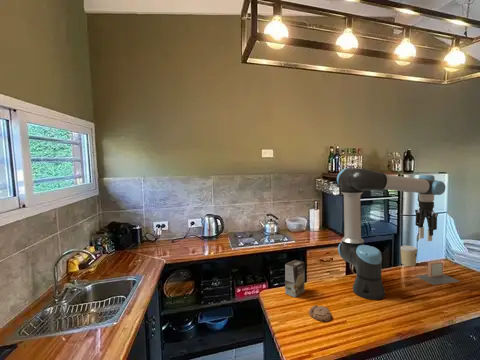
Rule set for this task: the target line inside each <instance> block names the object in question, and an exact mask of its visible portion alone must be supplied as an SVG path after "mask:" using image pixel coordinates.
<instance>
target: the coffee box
mask: <svg viewBox="0 0 480 360" xmlns="http://www.w3.org/2000/svg"><path fill="white" fill-rule="evenodd" d="M284 267H285V269H284V271H285V272H284V275H285V276H284V281H285V282H284V283H285V285H284V287H285V288H284V293H285V295H287V296H290V297H292V298H297V297H298V296H300V295H301V294H303V293H305V288H306V287H305V284H306V282H305V281H306V280H305V279H306V277H305V276H306V275H305V274H306V273H305V269H306V268H305V261H301V260H297V259H294V260H292V261H291V260H290V261H289V262H286V263H285V265H284Z"/></svg>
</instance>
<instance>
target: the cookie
mask: <svg viewBox="0 0 480 360" xmlns="http://www.w3.org/2000/svg"><path fill="white" fill-rule="evenodd" d="M308 314H309V316H310V317H311V318H313V319H314V320H315V321H319V322H321V323H327V322H329V321H331V320H332V317H333V316H332V313H331V311H330V310H329V308H328V307H327V306H323V305H316V304H315V305H313V306H311V307H310V309H309V310H308Z"/></svg>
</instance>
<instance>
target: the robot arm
mask: <svg viewBox="0 0 480 360" xmlns="http://www.w3.org/2000/svg"><path fill="white" fill-rule="evenodd" d="M336 183H337V185H338V187H340V193H341V194H342V195H343V223H344V224H343V225H344V228H343V229H344V231H343V232H344V234H343V235H344V236H343V237H342V238H341V242H340V243H339V244H338V247H337V252H338V254H339V256H340V258H342V260H344V261H345V262H347V263H349V264H351V266H353V267H354V268H356V276H355V279H354V282H353V284H352V292H353V293H354V294H355V295H356V296H358V297H360V298H363V299H367V300H377V301H378V300H382V299H384V298H385V296H386V290H385V288H384V287H385V286H384V285H383V281H382V266H383V265H382V264H383V258H382V252H381V250H380V249H378V248H377V247H375V246H371V245H367V244H365V241H364V239H363V238H362V232H361V231H362V223H361V221H362V220H361V219H362V218H361V214H362V213H361V195H362V194H363V193H364V191H377V192H382V191H383V190H387V191H388V190H389V191H390V190H391V191H398V192H404V193H416V194H417V193H418V200H419V201H418V207H419V208H418V209H415V210H414V212H415V222H414V223H415V226H417V228H418V231H417V232H418V238H419V239H424V238H425V227H424V224H425V219H426V222H427V228H428V229H427V230H426V241H427V242H432V241H433V236H434V231H437V229H438V225H437V224H438V216H439V213H438V212H435V211H434V208H435V202H434V201H435V196H441V195H443V194H444V193H445V191H446V184H445V182H444V181H442V180H438V179H437V180H436V179H435V176H434V175H433V174H421V175H419V176H418V177H417V178H416V177H407V176H400V175H392V174H386V173H385V172H382V171H377V170H372V169H367V168H362V167H361V168H357V167H347V168H343V169H342V170H340V172H339V173H338V174H337V177H336Z"/></svg>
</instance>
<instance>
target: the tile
mask: <svg viewBox="0 0 480 360" xmlns="http://www.w3.org/2000/svg"><path fill="white" fill-rule="evenodd" d="M443 270H444V262H442V261H440V260H439V261H429V262H427V274H428V276H429V277H438V276H443V274H444V273H443V272H444V271H443Z"/></svg>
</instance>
